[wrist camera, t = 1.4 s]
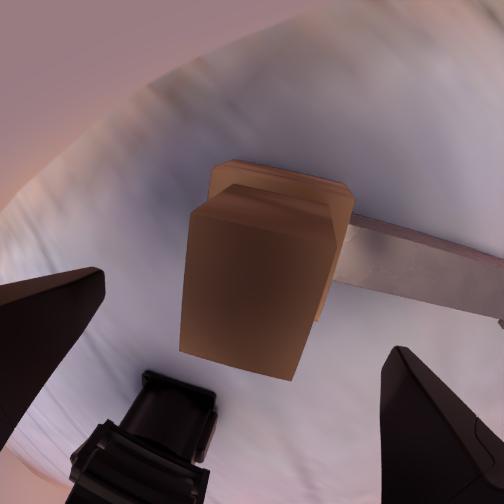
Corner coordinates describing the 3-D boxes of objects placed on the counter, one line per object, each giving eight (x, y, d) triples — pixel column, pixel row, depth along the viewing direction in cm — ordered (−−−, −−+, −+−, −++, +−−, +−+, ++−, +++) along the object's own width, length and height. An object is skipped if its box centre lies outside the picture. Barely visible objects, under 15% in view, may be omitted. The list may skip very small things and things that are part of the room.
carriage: (217, 261, 18) (153, 352, 11) (233, 159, 16) (159, 188, 8) (317, 286, 18) (314, 396, 10) (346, 184, 15) (378, 238, 8)
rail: (219, 258, 19) (206, 276, 17) (235, 158, 16) (223, 163, 14) (511, 325, 17) (525, 344, 14) (544, 253, 14) (563, 267, 12)
